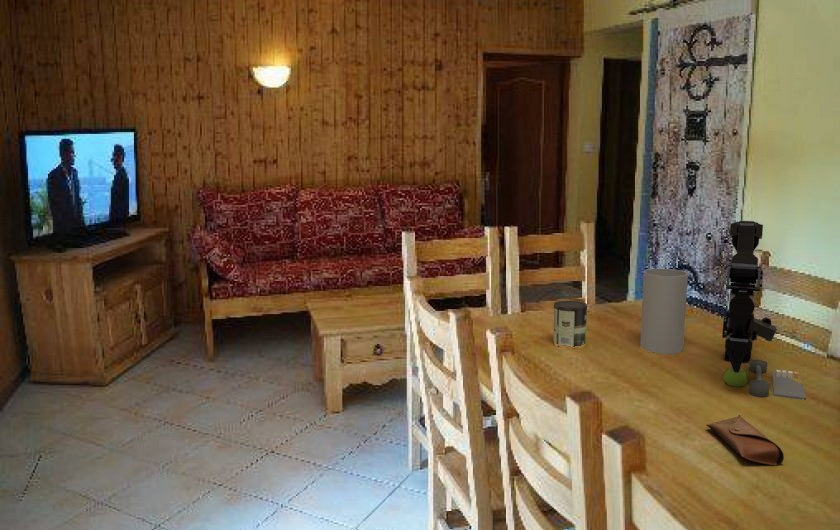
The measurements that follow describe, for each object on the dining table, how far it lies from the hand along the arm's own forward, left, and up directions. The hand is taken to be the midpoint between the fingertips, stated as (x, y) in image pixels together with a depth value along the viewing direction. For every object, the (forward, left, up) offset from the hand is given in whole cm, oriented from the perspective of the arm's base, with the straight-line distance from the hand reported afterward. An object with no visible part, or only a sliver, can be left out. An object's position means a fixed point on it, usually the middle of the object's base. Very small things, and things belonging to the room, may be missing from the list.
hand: (736, 367), depth 183 cm
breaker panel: (+12, +3, -6) cm, 14 cm away
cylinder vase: (-21, +24, -6) cm, 33 cm away
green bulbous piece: (0, 0, -6) cm, 6 cm away
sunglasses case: (0, -40, -6) cm, 40 cm away
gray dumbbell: (+5, +3, -6) cm, 9 cm away
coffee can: (-48, +18, -6) cm, 52 cm away
